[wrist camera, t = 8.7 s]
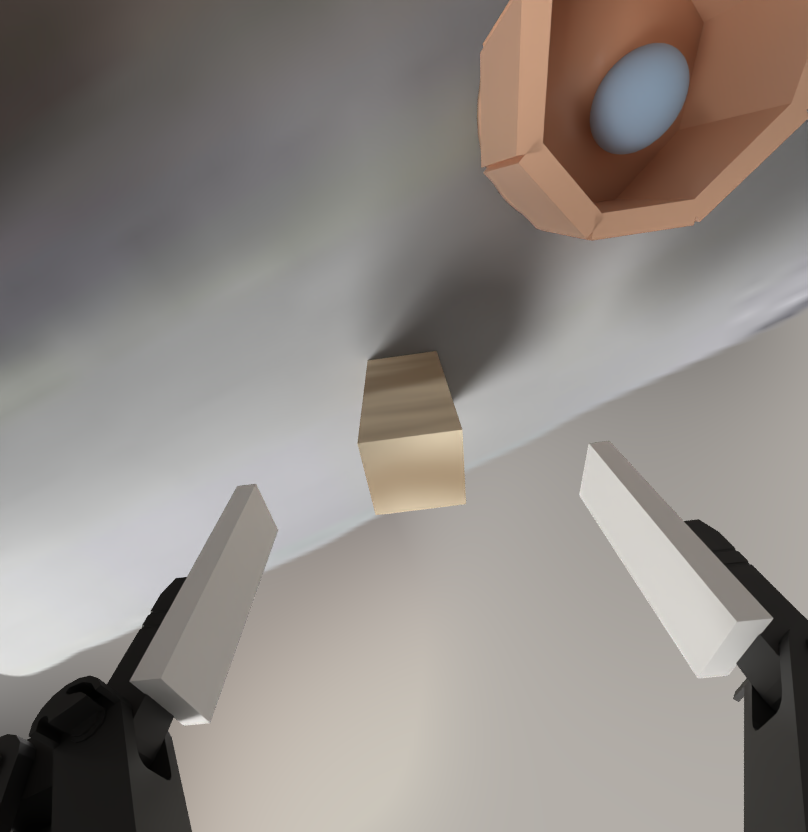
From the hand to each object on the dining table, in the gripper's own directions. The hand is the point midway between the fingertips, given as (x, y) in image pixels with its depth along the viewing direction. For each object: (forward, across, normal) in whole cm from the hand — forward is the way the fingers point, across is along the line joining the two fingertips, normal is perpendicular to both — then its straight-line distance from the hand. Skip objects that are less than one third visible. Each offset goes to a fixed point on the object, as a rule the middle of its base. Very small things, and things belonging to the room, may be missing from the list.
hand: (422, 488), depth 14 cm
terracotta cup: (+8, +9, +12) cm, 17 cm away
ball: (+7, +9, +12) cm, 17 cm away
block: (+8, 0, 0) cm, 8 cm away
